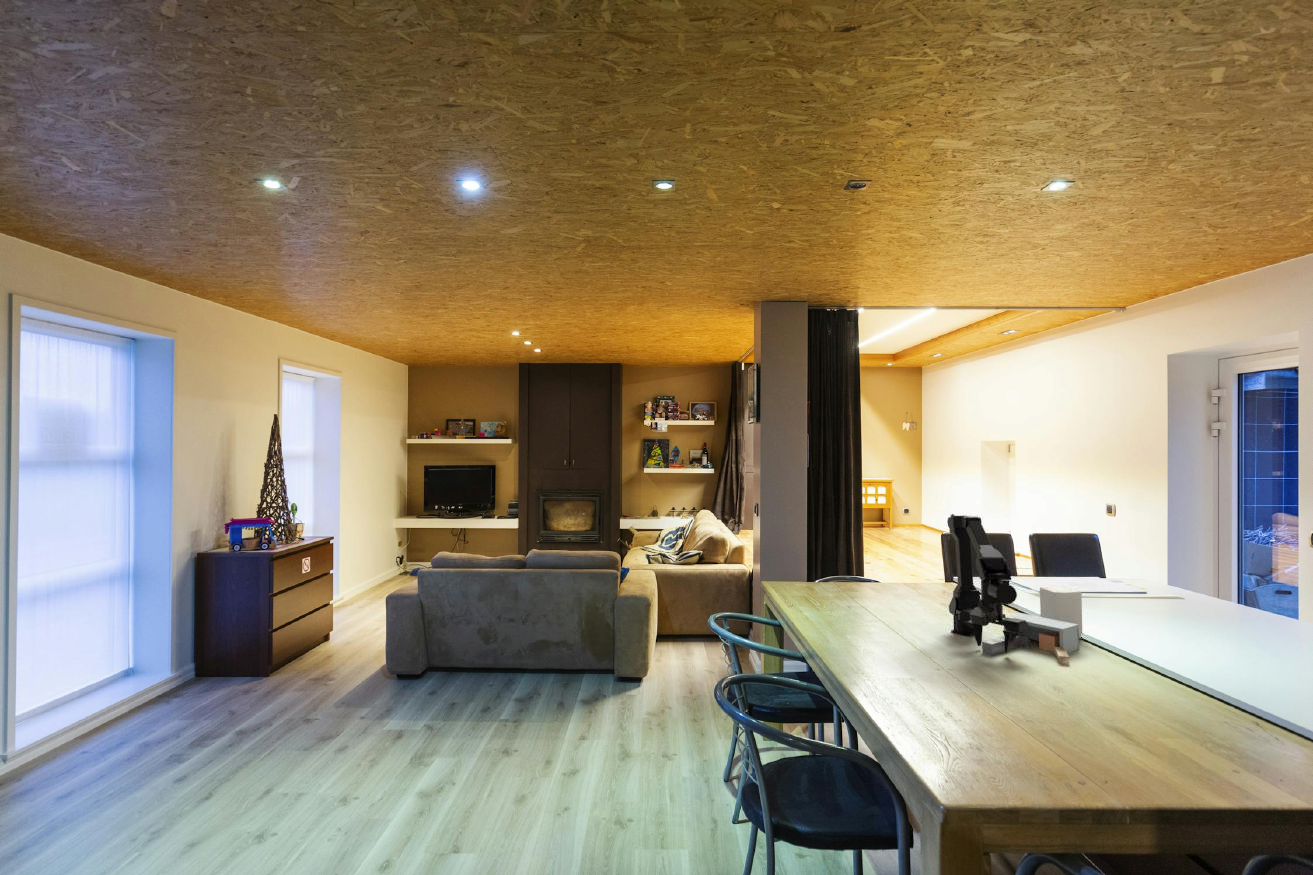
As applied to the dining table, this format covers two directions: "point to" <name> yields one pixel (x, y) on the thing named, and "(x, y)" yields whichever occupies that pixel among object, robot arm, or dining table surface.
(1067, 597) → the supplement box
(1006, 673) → the dining table surface
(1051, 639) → the block
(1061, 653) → the rod
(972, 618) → the robot arm
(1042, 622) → the cubby
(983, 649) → the grey rectangular bar
